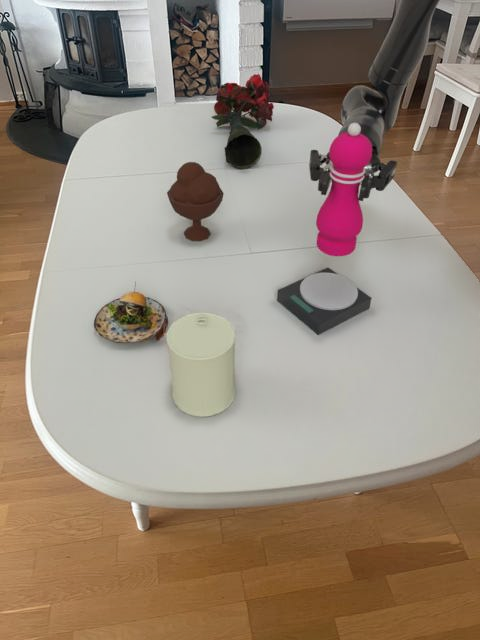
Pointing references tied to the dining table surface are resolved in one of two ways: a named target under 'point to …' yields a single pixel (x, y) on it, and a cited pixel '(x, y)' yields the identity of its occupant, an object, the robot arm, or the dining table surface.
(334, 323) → the kitchen scale
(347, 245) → the pepper mill
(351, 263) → the dining table surface
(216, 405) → the can
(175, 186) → the ice cream bowl
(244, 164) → the red flower bouquet
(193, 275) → the dining table surface
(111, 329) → the burger
